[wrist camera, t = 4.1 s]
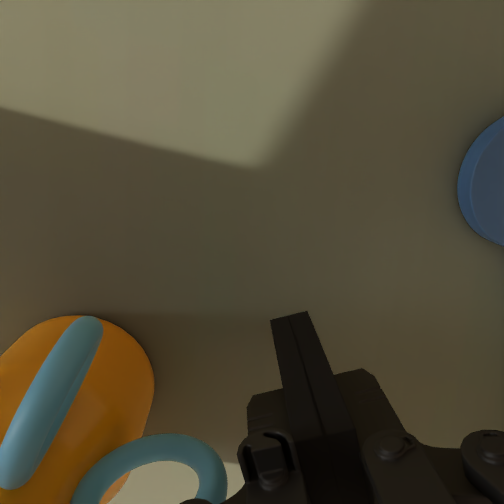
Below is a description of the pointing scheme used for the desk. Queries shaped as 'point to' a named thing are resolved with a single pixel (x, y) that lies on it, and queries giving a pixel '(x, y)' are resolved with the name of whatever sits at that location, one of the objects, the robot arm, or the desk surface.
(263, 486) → the robot arm
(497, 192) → the blue disc with handle
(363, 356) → the desk surface
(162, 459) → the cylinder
